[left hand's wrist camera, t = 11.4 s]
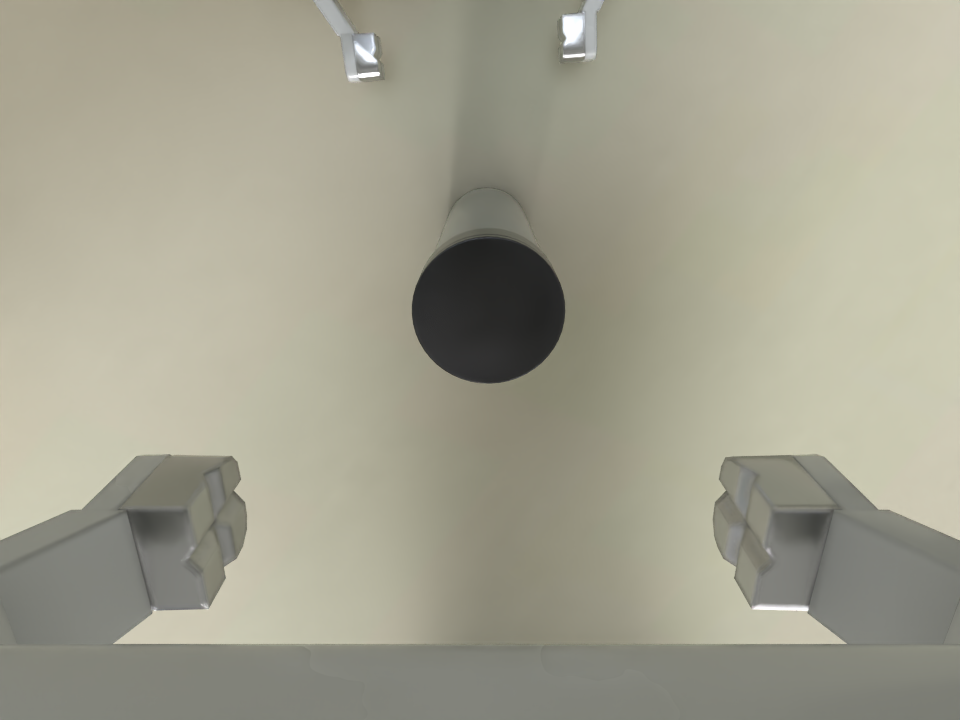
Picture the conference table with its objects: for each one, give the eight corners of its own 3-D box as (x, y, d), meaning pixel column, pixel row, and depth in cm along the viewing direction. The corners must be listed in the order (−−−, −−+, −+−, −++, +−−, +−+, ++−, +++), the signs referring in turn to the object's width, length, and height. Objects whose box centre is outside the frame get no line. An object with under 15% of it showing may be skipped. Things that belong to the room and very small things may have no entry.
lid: (387, 288, 21) (379, 302, 19) (500, 196, 20) (501, 202, 18) (477, 390, 22) (477, 410, 21) (587, 309, 21) (595, 324, 20)
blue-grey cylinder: (429, 222, 35) (388, 299, 20) (493, 169, 34) (500, 208, 19) (480, 284, 36) (477, 399, 21) (543, 235, 35) (586, 320, 20)
